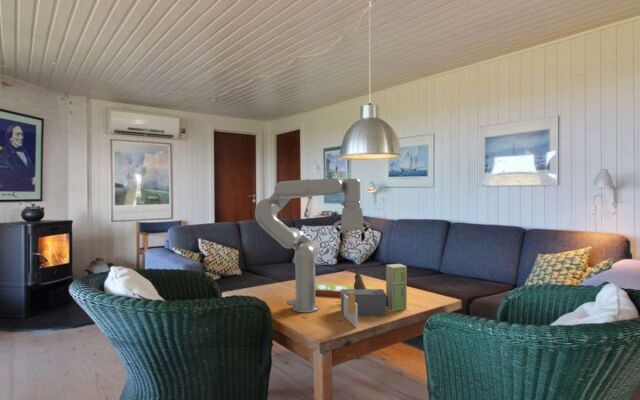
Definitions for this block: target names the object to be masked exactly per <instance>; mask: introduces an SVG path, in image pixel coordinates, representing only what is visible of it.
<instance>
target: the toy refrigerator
mask: <svg viewBox="0 0 640 400" xmlns="http://www.w3.org/2000/svg"><path fill="white" fill-rule="evenodd" d="M407 271H408V270H407V265H404V264H402V263H393V264H392V263H391V264H386V266H385V280H386V281H385V293H386V296H388V301H389V304H388V307H386V309H388V310H389V311H392V312H394V311H395V312H396V311H404V310H407V305H408V304H407V300H408V299H407V297H408V296H407V293H408V292H407V289H408V288H407V285H408V284H407V281H408V280H407V278H408V277H407V276H408V273H407Z"/></svg>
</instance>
